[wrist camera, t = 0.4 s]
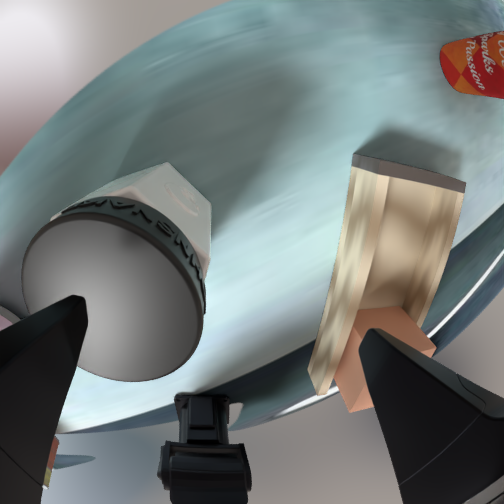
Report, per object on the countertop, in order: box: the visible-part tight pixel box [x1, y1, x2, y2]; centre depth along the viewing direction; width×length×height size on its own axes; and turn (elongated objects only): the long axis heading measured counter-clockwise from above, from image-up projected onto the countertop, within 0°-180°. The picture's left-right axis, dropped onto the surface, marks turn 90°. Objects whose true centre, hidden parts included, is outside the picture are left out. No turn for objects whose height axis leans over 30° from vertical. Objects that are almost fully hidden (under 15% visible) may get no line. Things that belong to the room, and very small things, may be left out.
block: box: [333, 306, 436, 413], centre depth 23 cm, size 7×7×7 cm
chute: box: [307, 154, 466, 396], centre depth 23 cm, size 23×10×4 cm, turn 176°
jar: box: [21, 162, 211, 382], centre depth 15 cm, size 9×8×12 cm
